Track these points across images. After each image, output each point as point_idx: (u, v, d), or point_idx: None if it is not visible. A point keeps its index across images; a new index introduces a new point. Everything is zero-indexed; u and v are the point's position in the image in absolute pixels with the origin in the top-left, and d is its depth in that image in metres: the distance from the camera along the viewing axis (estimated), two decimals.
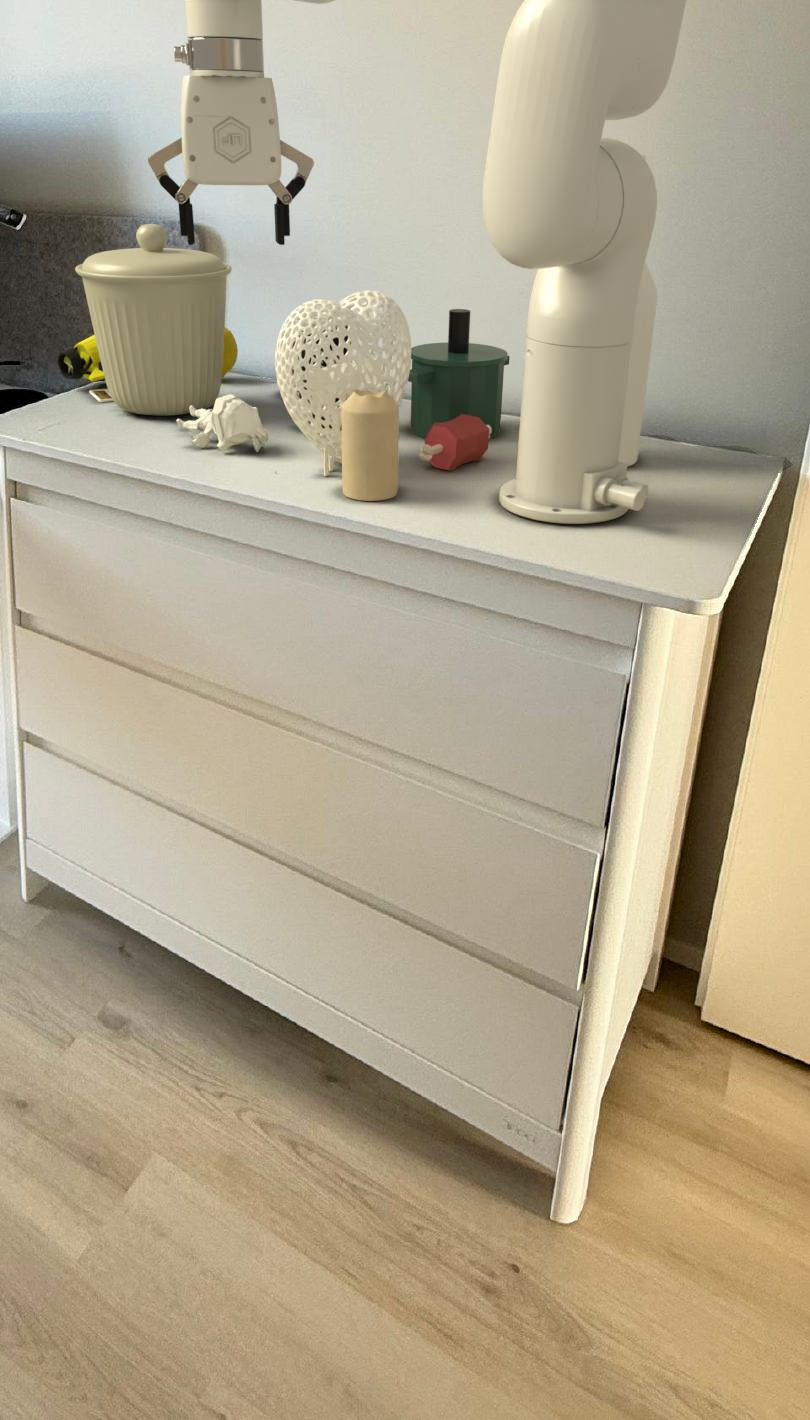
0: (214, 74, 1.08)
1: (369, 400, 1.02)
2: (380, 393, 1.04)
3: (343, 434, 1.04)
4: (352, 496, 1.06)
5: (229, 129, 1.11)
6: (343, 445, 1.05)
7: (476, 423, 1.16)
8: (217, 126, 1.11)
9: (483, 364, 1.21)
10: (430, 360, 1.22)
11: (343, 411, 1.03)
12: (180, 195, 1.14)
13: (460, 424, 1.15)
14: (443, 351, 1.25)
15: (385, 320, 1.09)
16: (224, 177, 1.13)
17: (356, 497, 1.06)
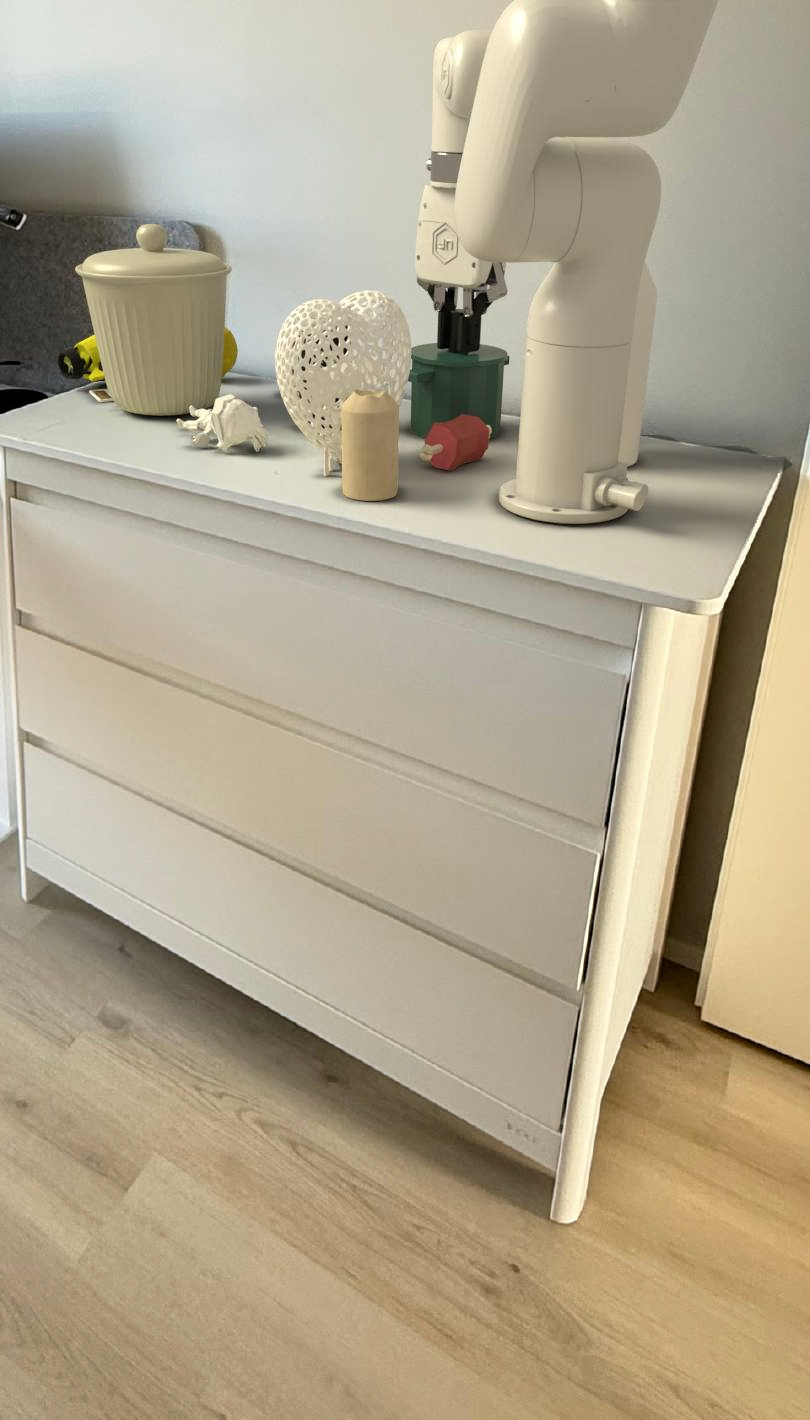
0: (433, 185, 1.16)
1: (369, 400, 1.02)
2: (380, 393, 1.04)
3: (343, 434, 1.04)
4: (352, 496, 1.06)
5: (444, 234, 1.18)
6: (343, 445, 1.05)
7: (476, 423, 1.16)
8: (436, 231, 1.19)
9: (483, 364, 1.21)
10: (430, 360, 1.22)
11: (343, 411, 1.03)
12: (436, 305, 1.24)
13: (460, 424, 1.15)
14: (443, 351, 1.25)
15: (385, 320, 1.09)
16: (437, 277, 1.21)
17: (356, 497, 1.06)
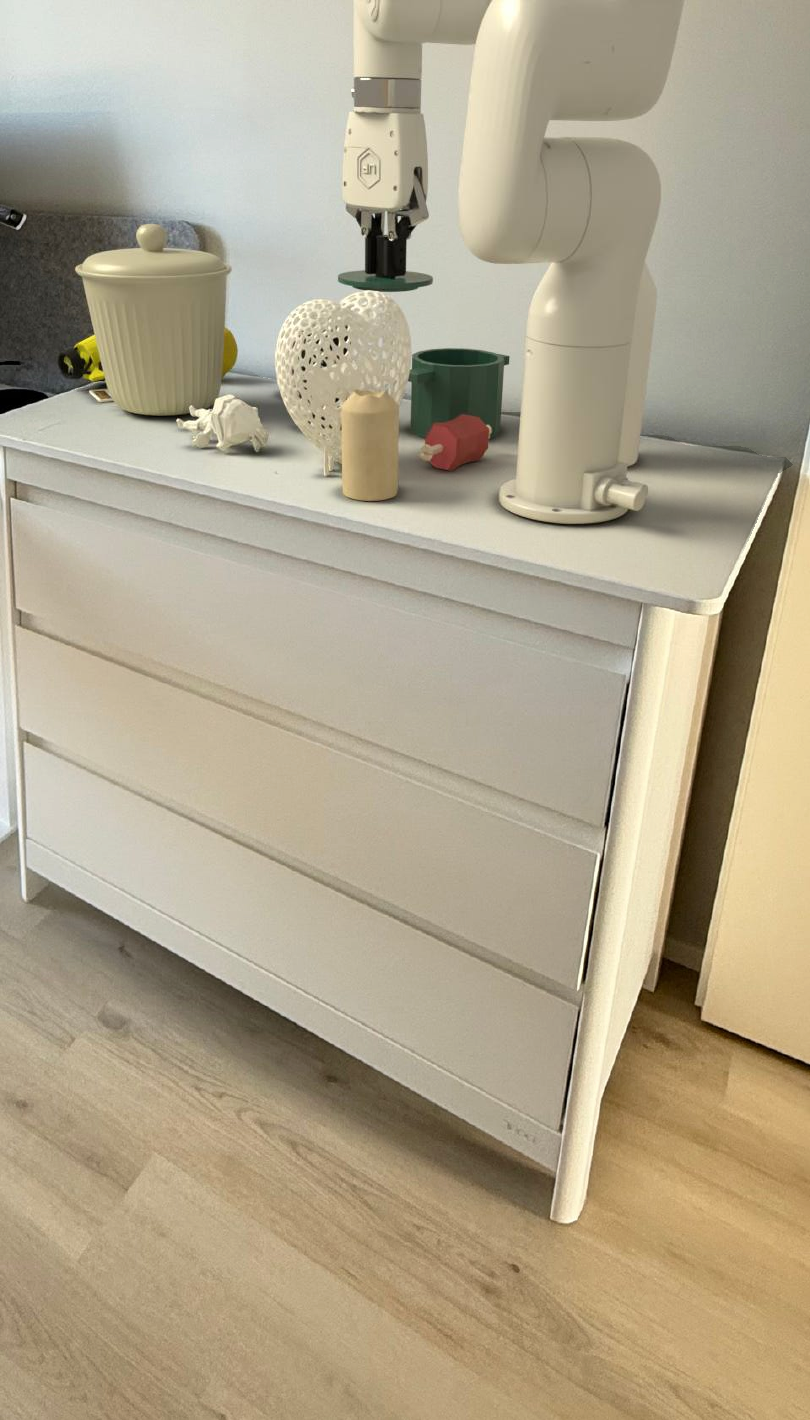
0: (356, 110, 1.21)
1: (369, 400, 1.02)
2: (380, 393, 1.04)
3: (343, 434, 1.04)
4: (352, 496, 1.06)
5: (368, 159, 1.23)
6: (343, 445, 1.05)
7: (476, 423, 1.16)
8: (360, 156, 1.23)
9: (407, 286, 1.26)
10: (356, 282, 1.26)
11: (343, 411, 1.03)
12: (364, 230, 1.29)
13: (460, 424, 1.15)
14: (371, 276, 1.30)
15: (385, 320, 1.09)
16: (363, 202, 1.25)
17: (356, 497, 1.06)
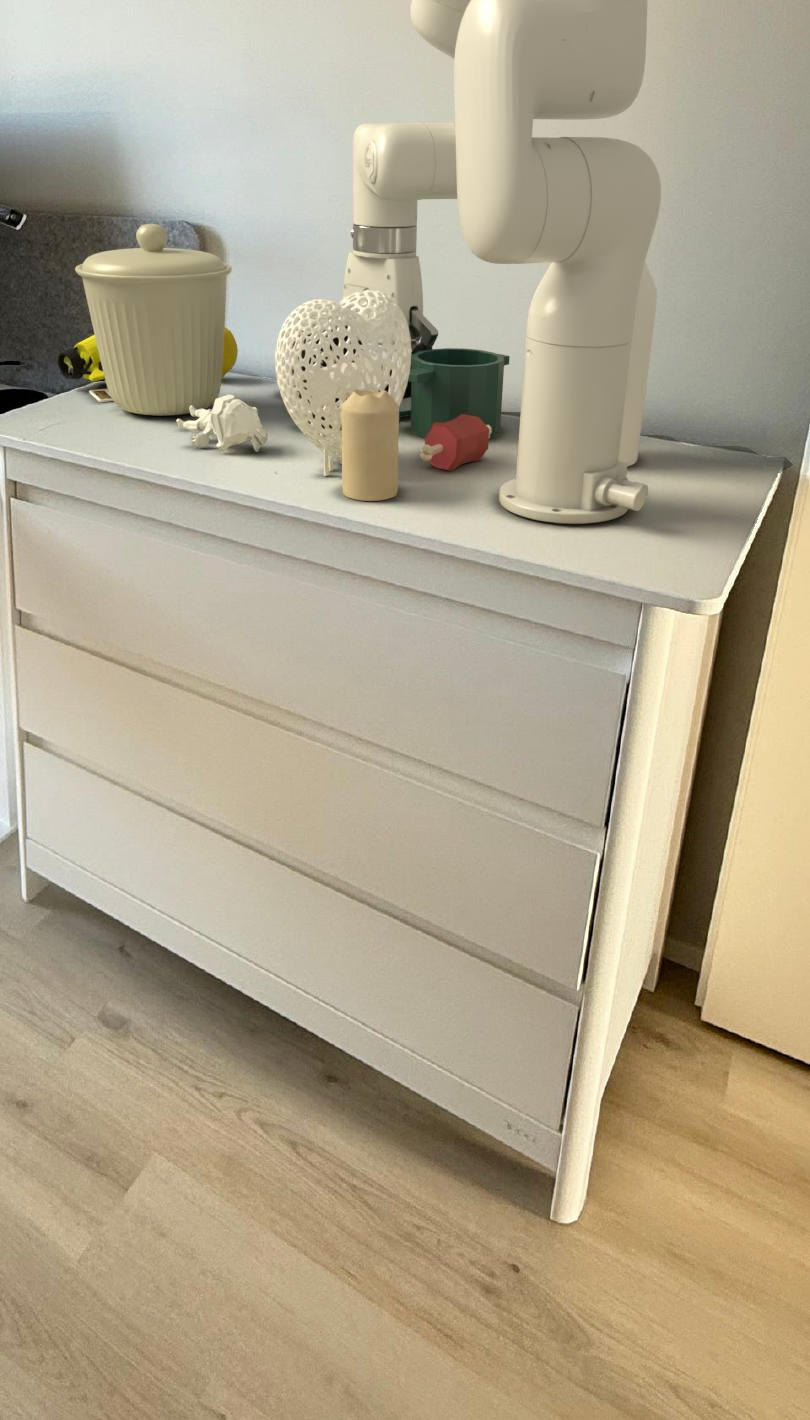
0: (355, 254, 1.28)
1: (369, 400, 1.02)
2: (380, 393, 1.04)
3: (343, 434, 1.04)
4: (352, 496, 1.06)
5: None
6: (343, 445, 1.05)
7: (476, 423, 1.16)
8: None
9: (405, 414, 1.33)
10: None
11: (343, 411, 1.03)
12: None
13: (460, 424, 1.15)
14: None
15: (385, 320, 1.09)
16: None
17: (356, 497, 1.06)
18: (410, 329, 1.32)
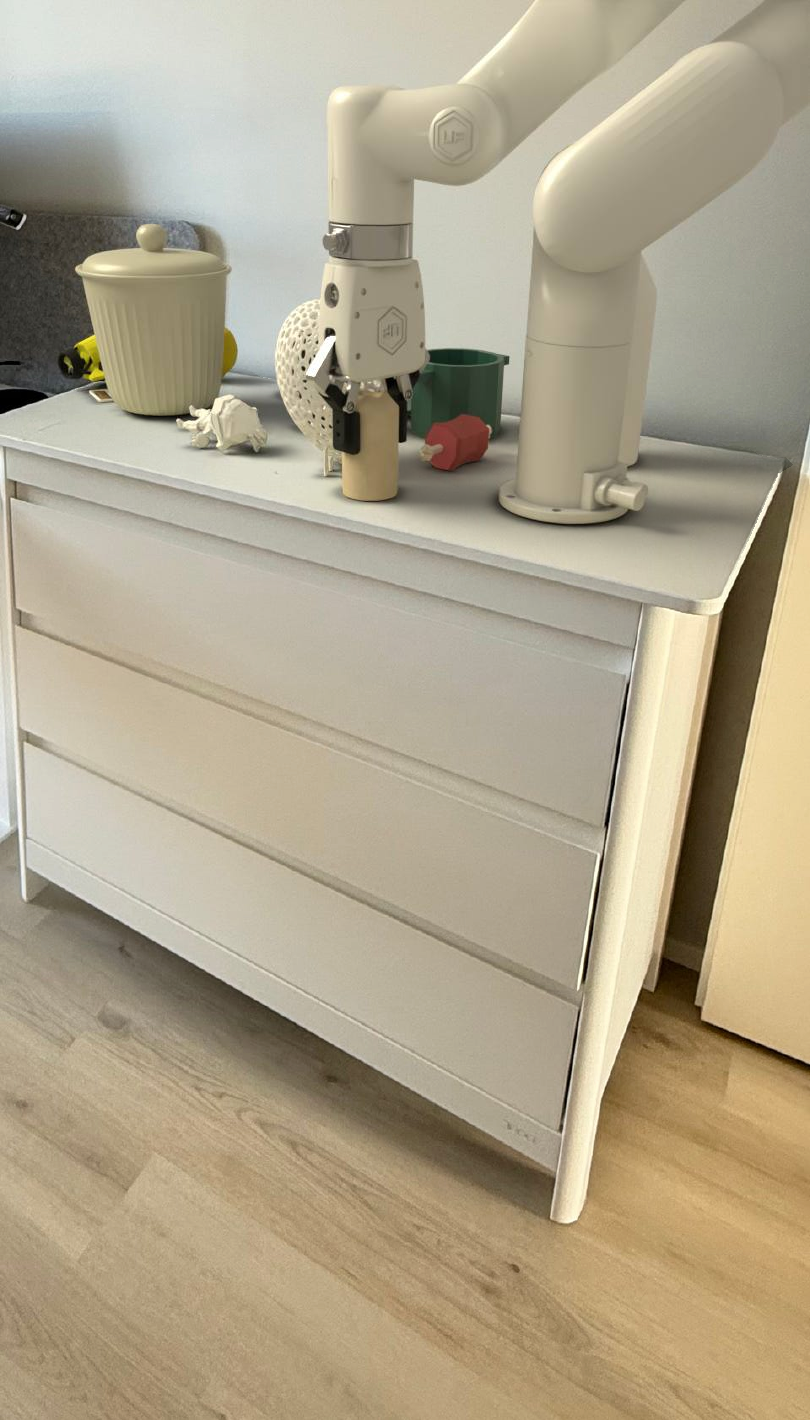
0: (386, 264, 0.95)
1: (369, 400, 1.02)
2: (380, 393, 1.04)
3: None
4: (352, 496, 1.06)
5: (389, 320, 0.98)
6: None
7: (476, 423, 1.16)
8: (380, 318, 0.97)
9: None
10: None
11: None
12: (348, 404, 1.00)
13: (460, 424, 1.15)
14: None
15: None
16: (383, 371, 1.00)
17: (356, 497, 1.06)
18: None
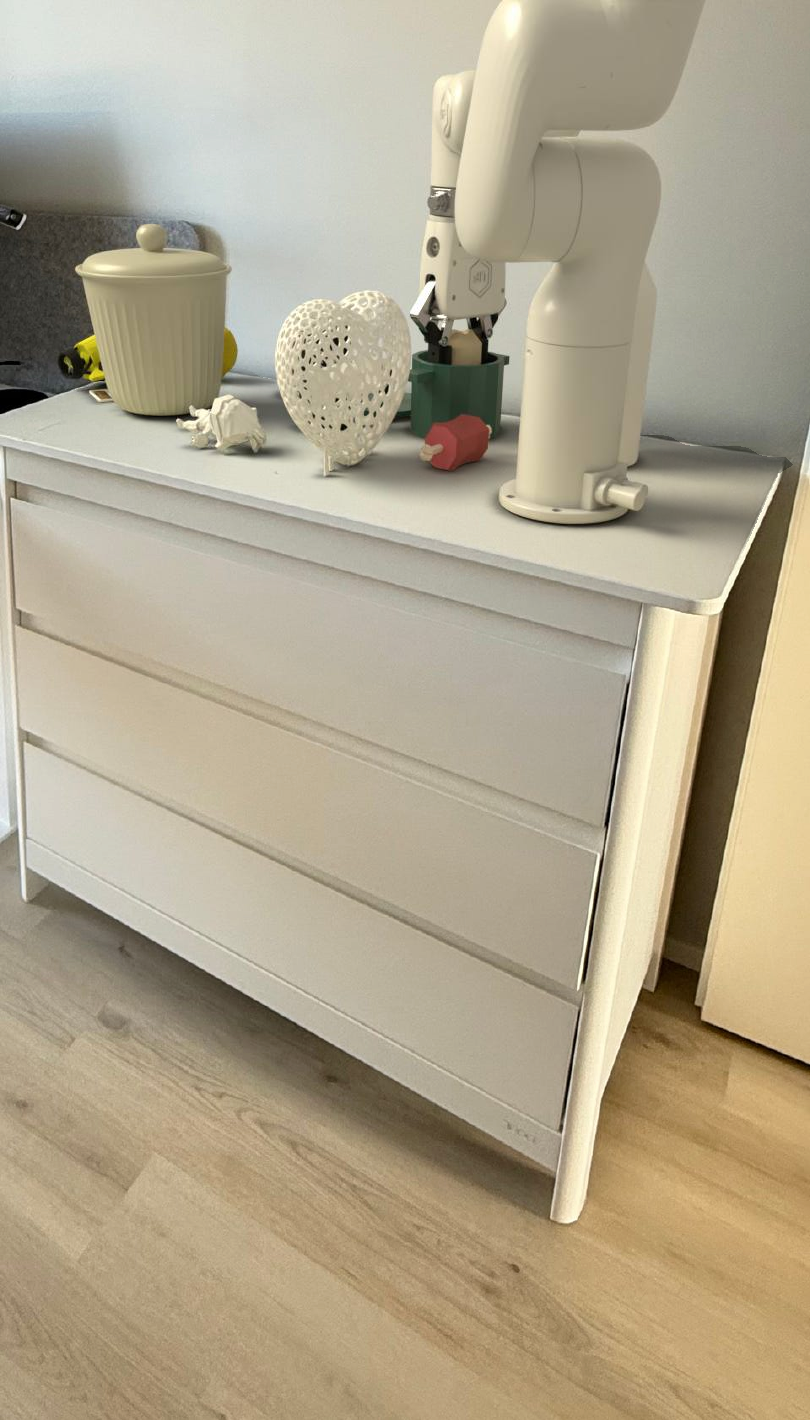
0: None
1: (458, 336, 1.23)
2: (466, 331, 1.25)
3: None
4: None
5: (478, 268, 1.19)
6: None
7: (476, 423, 1.16)
8: (472, 266, 1.18)
9: (405, 414, 1.33)
10: None
11: None
12: (443, 339, 1.21)
13: (460, 424, 1.15)
14: None
15: (385, 320, 1.09)
16: (472, 311, 1.21)
17: None
18: None
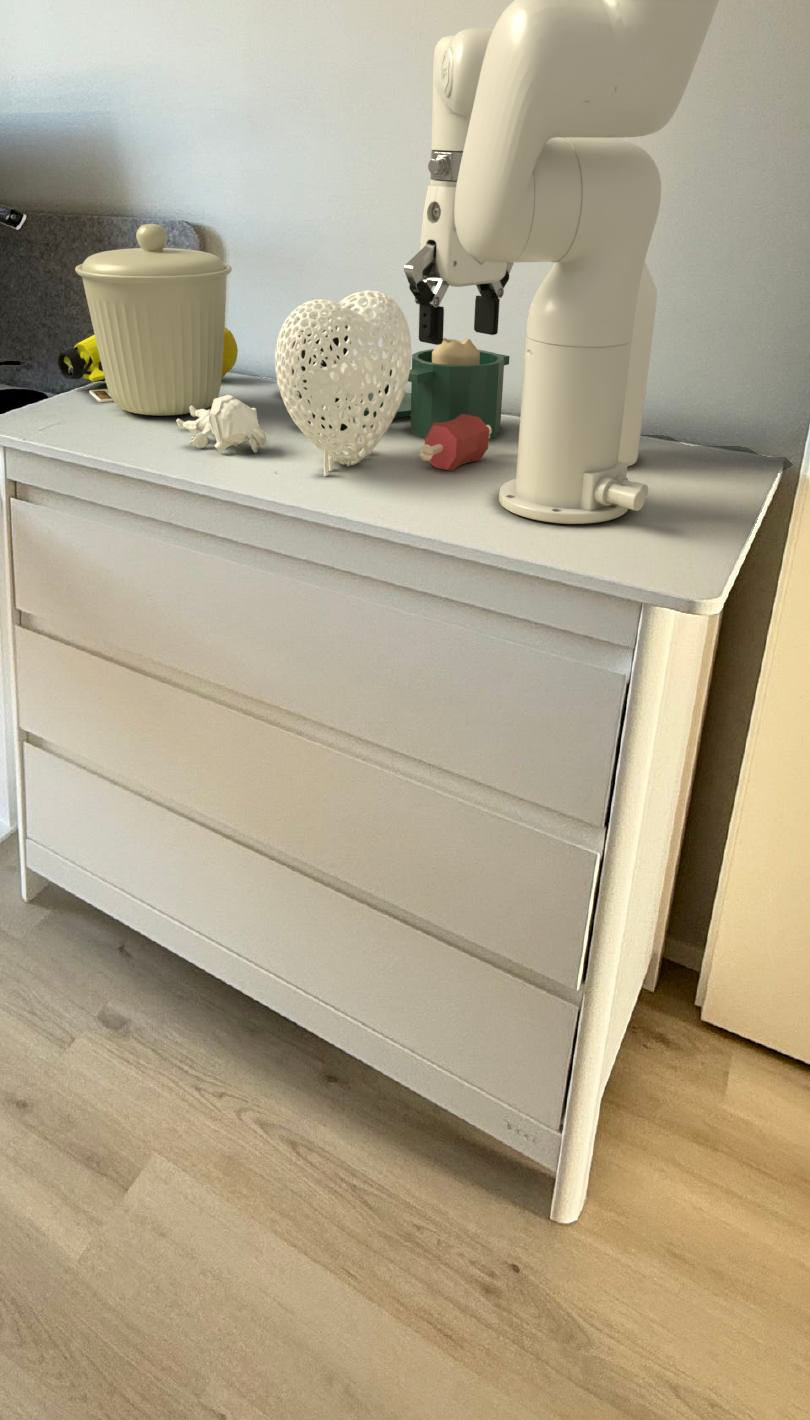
0: None
1: (456, 346, 1.23)
2: (464, 341, 1.26)
3: None
4: None
5: None
6: None
7: (476, 423, 1.16)
8: None
9: (405, 414, 1.33)
10: None
11: (434, 356, 1.25)
12: (435, 299, 1.18)
13: (460, 424, 1.15)
14: None
15: (385, 320, 1.09)
16: (474, 278, 1.19)
17: None
18: None
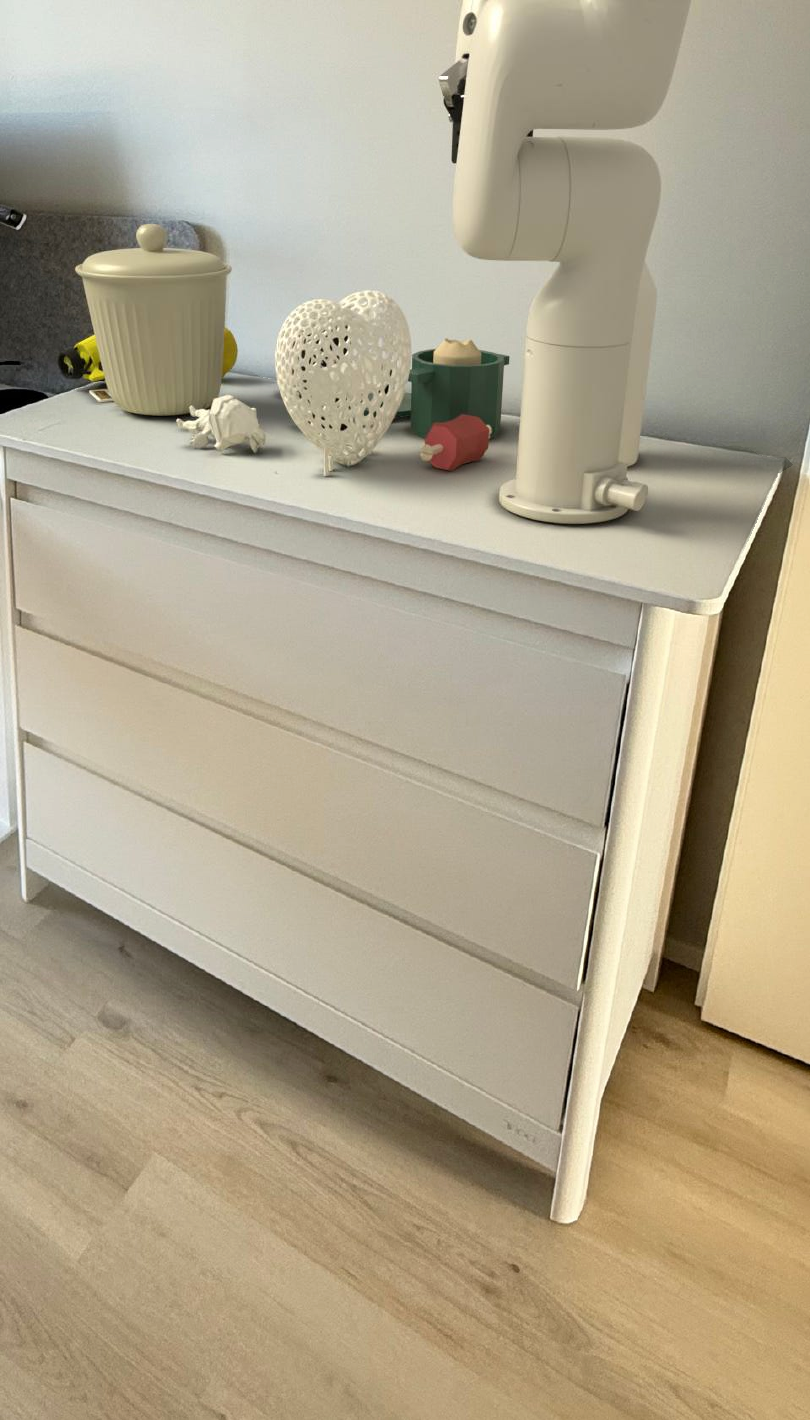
0: None
1: (457, 347, 1.23)
2: (466, 342, 1.26)
3: None
4: None
5: None
6: None
7: (476, 423, 1.16)
8: None
9: (405, 414, 1.33)
10: None
11: (435, 356, 1.25)
12: None
13: (460, 424, 1.15)
14: None
15: (385, 320, 1.09)
16: None
17: None
18: None
